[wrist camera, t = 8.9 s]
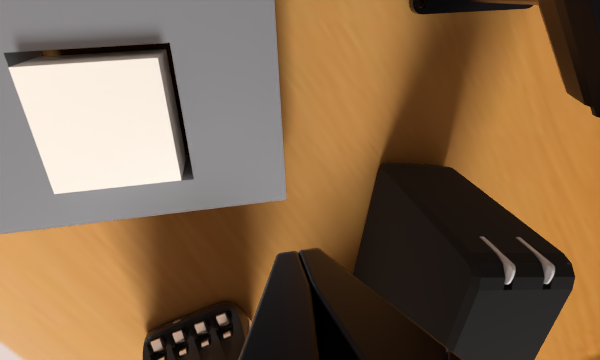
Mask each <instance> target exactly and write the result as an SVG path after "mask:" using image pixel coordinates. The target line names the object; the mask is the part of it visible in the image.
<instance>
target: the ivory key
mask: <svg viewBox="0 0 600 360" xmlns="http://www.w3.org/2000/svg"><path fill="white" fill-rule="evenodd" d="M8 68H9V71H10V74H11V76H12V79H13V82H14V85H15V87H16V90H17V93H18V96H19V98H20V101H21V104H22V107H23V109H24V112H25V115H26V118H27V120H28V123H29V126H30V129H31V131H32V134H33V137H34V140H35V142H36V145H37V148H38V151H39V153H40V156H41V159H42V162H43V165H44V167H45V170H46V173H47V176H48V178H49V181H50V184H51V187H52V189H53V192H54V194H62V193H71V192H80V191H89V190H98V189H107V188H117V187H126V186H135V185H144V184H153V183H162V182H172V181H181V180H182V176H183V171H184V166H185V162H186V155H185V149H184V144H183V138H182V133H181V128H180V122H179V117H178V111H177V106H176V100H175V95H174V89H173V84H172V78H171V73H170V67H169V62H168V56H167V51H166V49H159V50H143V51H127V52H111V53H95V54H78V55H62V56H46V57H36V58H33V59H31V60H28V61H25V62H22V63H19V64H17V65H14V66H11V67H8Z"/></svg>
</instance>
